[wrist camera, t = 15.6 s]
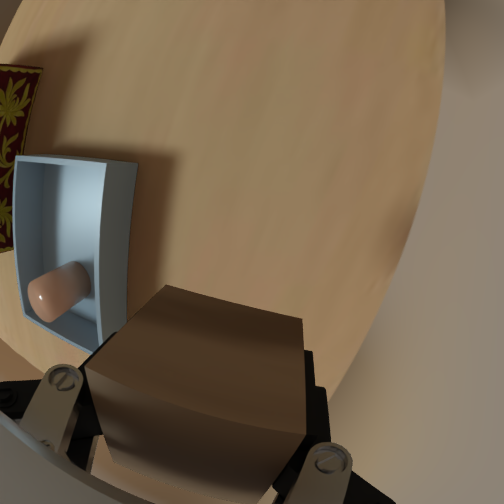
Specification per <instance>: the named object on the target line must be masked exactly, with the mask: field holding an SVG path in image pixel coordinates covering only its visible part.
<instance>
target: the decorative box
mask: <svg viewBox="0 0 504 504" xmlns="http://www.w3.org/2000/svg"><path fill="white" fill-rule="evenodd" d="M42 71H43V68H40V67H33V66H24V65H13V64H0V253H3V252H7V251H11V250H14V243H13V180H14V167H15V157H16V155H23V152H24V145H25V139H26V134H27V129H28V124H29V119H30V115H31V110H32V106H33V102H34V99H35V95H36V91H37V88H38V84H39V81H40V78H41V75H42Z"/></svg>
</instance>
